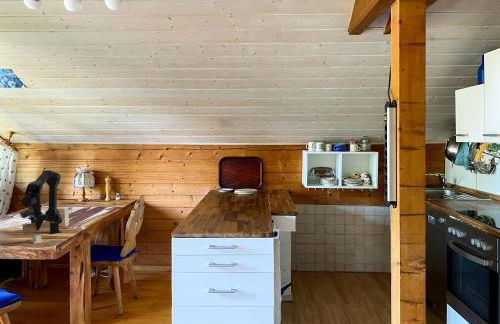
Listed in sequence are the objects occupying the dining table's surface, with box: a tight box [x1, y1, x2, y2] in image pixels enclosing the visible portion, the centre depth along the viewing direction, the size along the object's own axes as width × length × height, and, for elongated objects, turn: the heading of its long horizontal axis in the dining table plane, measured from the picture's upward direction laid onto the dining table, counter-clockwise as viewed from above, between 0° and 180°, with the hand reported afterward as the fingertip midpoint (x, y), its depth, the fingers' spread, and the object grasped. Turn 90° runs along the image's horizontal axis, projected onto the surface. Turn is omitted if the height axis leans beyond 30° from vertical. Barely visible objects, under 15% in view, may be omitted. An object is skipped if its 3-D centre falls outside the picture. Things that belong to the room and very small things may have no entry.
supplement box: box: [57, 206, 70, 228], centre depth 288 cm, size 8×5×13 cm, turn 81°
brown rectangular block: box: [22, 220, 50, 235], centre depth 245 cm, size 4×14×5 cm, turn 131°
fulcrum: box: [30, 234, 44, 244], centre depth 245 cm, size 5×5×4 cm
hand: (36, 229), depth 245 cm, fingers closed on brown rectangular block, 4 cm apart
